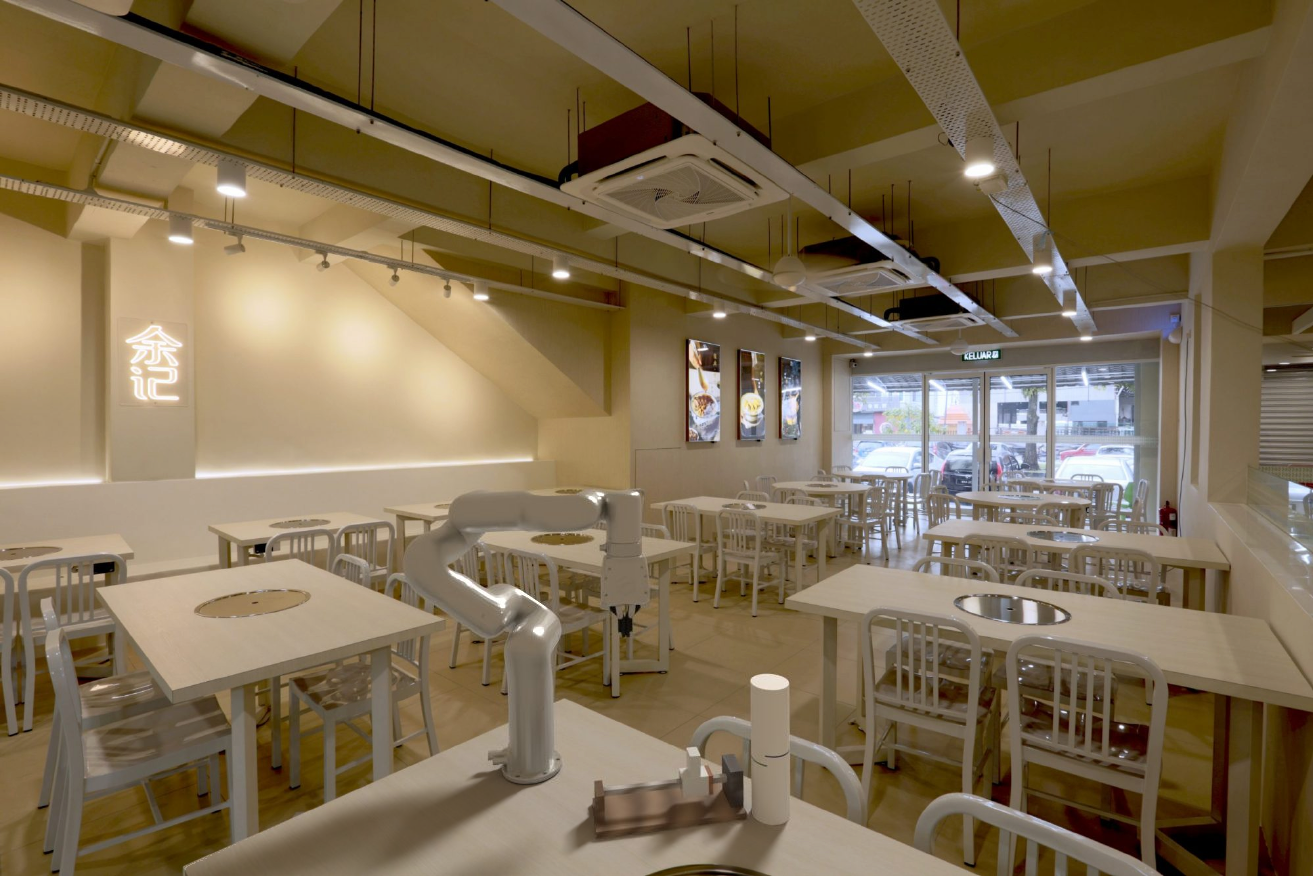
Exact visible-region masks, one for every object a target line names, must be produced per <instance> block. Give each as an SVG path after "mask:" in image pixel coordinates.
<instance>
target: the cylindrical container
mask: <svg viewBox="0 0 1313 876" xmlns="http://www.w3.org/2000/svg"><path fill="white" fill-rule="evenodd" d="M749 681H750V751H751V752H750V758H751V759H750V760H751V761H750V765H751V766H750V768H751V769H750V770H751V771H750V773H751V775H750V776H751V814H752V816H753V818H754V819H756V820H757V821H758V822H760V823H762V824H765V825H768V826H779V825H783V824H786V823H787V822H788V821H789V820H790V818H791V770H790V769H791V767H790V766H791V759H790V757H791V753H790V752H791V750H790V746H791V743H790V734H791V733H790V681H789V680H788V679H787V678H786V677H784V676H782V675H778V674H775V673H774V674H772V673H761V674H756V675H754V676H753V677H751V678H750V680H749Z"/></svg>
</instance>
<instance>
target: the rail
mask: <svg viewBox="0 0 1313 876" xmlns="http://www.w3.org/2000/svg"><path fill="white" fill-rule="evenodd" d="M703 766H704V767H705V769H706V771H707V773H708V776H709V795H705V796H696V797H688V798H683V796H682V793H681V791H680V788H682V779H679V778H675V779H673V778H672V779H665V780H656V781H649V782H639V783H629V784H622V785H621V784H620V785H614V786H613V785H612V786H605V787H604V783H603V779H602V780H601V779H600V780H594V781H593V785H594V790H593V792H594V797H592V811H593V819H594V829H595V830H594V831H595V838H596V839H597V840H598V839H605V838H615V837H619V836H620V837H621V836H627V835H628V836H629V835H637V834H643V833H651V832H659V831H667V830H673V829H674V830H675V829H683V828H690V827H699V826H706V825H713V824H721V823H729V822H730V823H731V822H737V821H745V820H748V812H747V810H746V808H745V805H744V799H745V798H744V795H745V793H744V792H745V791H744V785H745V784H744V781H745V780H744V769H743V768H742V765H741V764H740V762H739V760H738V759H737V757H736V755H735V753H729V754H728V753H727V754H722V755H721V773H718V774H717V773H716V774H713V772H712V770H711V768H710V766H709V765H708V764H707V765H703Z"/></svg>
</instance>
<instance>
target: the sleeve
mask: <svg viewBox="0 0 1313 876" xmlns="http://www.w3.org/2000/svg"><path fill="white" fill-rule="evenodd" d="M704 766H705V765H701V754H700V751H699V749H698V747H697V746H691V747H686V767H680V768H678V779H682V788H680V791H681V793H682V796H683V798H688V797H696V796H705V795H709V776H708V773H707V771H706V769H705V767H704Z"/></svg>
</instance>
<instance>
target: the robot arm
mask: <svg viewBox="0 0 1313 876" xmlns="http://www.w3.org/2000/svg"><path fill="white" fill-rule="evenodd" d="M447 516H448V519H447V520H446V521H445V522H443V524H442V525H441V526H439V527H437V528H434V529H431V530H429V531H426V532H424V533H422V534H420V535H418V536H417V537H415V538H413V539H412V540H411V542H410V543H409V544H408V546H407V547H406V548H405V551H404V554H403V557H402V569H403V574H404V578H405V579H406V582H407V583H408V585H409V587H410V588H411V589H412V591H413V592H414V593H416V594H417V595H418V596H420V597H421V598H422V599H423V600H425V601H427V602H429V603H431V604H432V605H433V606H435V607H436V608H438V609H440V610H441V611H443V612H444V613H445V614H447V615H448V616H450V617H451V618H452V619H454V620H455V621H457V622H458V623H460V624H461V625H462V626H464V627H466V628H467V629H468V630H470V631H472V632H473V633H474V634H476V635H477V636H480V637H481V638H483V639H493V638H496V637H498V636H499V635H502V633H503V632H504V631H508V632H509V635H507V636H508V637H507V638H506V640H505V643H504V648H503V656H504V657H503V658H504V664H505V669H506V679H507V681H506V682H507V700H508V701H507V702H508V703H507V707H508V708H507V709H508V744H507V747H503V749H499V750H497V749H493V750H488V752H487V761H488V762H489V761H490V762H491V761H492V766H498V765H502V766H501V771H502V775H503V777H504V778H505V779H506V780H508V781H510V782H511V783H516V784H519V785H520V784H521V785H529V784H537V783H541V782H544V781H546V780H549V779H551V778H552V777H554V776H555V775H557V773H558V772H559V771H560V770H561V767H562V762H563V761H562V756H561V754H560V753H559V752H558V751H557V750H556V749H555V722H554V720H555V715H554V714H555V713H554V712H555V711H554V709H555V708H554V706H555V705H554V680H553V679H554V678H553V677H554V676H553V672H552V671H553V670H552V664H551V656H552V652H553V651H554V649H555V647H556V645H557V644H558V642H559V640H560V639H561V635H562V624H561V623H562V622H561V621H560V619H559V617H558V616H557V615H556V613H555V612H553V611H552V610H551V609H550V608H548V607H547V606H546V605H543V604H542V603H540V602H539V601H538V600H536V599H535V598H534V597H532V596H531V595H528V593H526V592H524V591H523V590H521V589H519V588H518V587H516V586H514V585H512V584H508V583H495V584H494V585H491V586H490V587H488V588H487V587H484V586H482V585H480V584H479V583H478V582H476V581H474V580H473V579H472V578H470V577H469V576H467V575H465V574H463V573H461V572H458V571H455V570H453V569H451V567H449V565H451V564H452V563H454V562H456V561H458V560H459V559H461V558H462V557H463V556H465V554H466V553H467V552H468V551H469V550H470V549H471V548H472V547H473V546H474V545H476V543H477V542H478V541H479V540H480V539H481V538H482V537H483V536H484V535H485V534H486V533H494V532H496V533H498V532H520V531H521V532H522V531H523V532H533V533H534V532H535V533H569V532H572V533H573V532H582V531H586V530H590V529H592V528H593V527H595V526H596V525H597V524H599V523H601V522H602V523H603V522H605V537H606V539H605V542H604V543H603V544H599V547H598V548H599V552H603V553H605V554H604V555H603V557H602V562H601V571H600V591H599V593H600V602H599V609H600V610H603V611H610V612H612V614H613V615H614V616H616V618H617V632H618V634H619V633H620V635H621V637H622V639H624V638H630V637H631V632H633V630H634V628H633V623H634V622H633V621H634V620H633V618H635V615H636V614H637V613H638V612H639V611H640V610H641V609H644V608H647V607H650V606H651V602H650V596H651V593H650V591H651V589H650V577H649V575H650V574H649V567H648V566H649V565H648V559H647V557H646V555H645V554H644V553H643V543H642V541H643V539H642V526H643V525H642V523H643V521H642V520H643V519H642V496H641V494H640V492H639V491H636V490H630V489H621V490H620V489H619V490H605V489H598V488H586V489H583V490H581V491H579V492H577V493H573V494H560V495H559V494H558V495H539V494H538V495H537V494H533V493H530V492H529V491H526V490H513V491H512V490H511V491H494V492H493V491H490V490H487V489H477V490H473V491H469V492H467V493H463V494H461V495H458V496H457V497H455V499H453V501H452V502H451V503H450V505H449V508H448V513H447ZM622 606H627V610H626V612H625V614H624V612H623V607H622Z"/></svg>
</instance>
